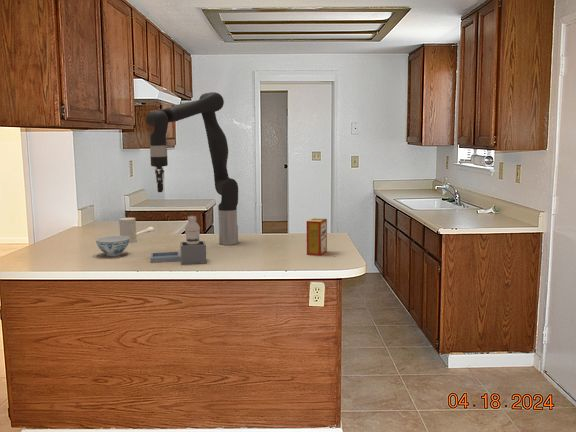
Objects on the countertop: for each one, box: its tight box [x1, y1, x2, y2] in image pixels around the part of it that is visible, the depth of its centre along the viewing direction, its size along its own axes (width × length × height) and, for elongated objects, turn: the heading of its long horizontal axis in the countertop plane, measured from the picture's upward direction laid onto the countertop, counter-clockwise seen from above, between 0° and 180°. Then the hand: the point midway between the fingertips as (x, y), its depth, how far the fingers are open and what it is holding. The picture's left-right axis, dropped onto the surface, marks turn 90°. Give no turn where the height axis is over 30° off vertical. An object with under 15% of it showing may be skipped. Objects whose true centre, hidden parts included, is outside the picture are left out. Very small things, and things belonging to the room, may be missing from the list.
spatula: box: [136, 226, 155, 237], centre depth 326 cm, size 28×4×3 cm, turn 165°
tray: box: [150, 251, 181, 264], centre depth 263 cm, size 13×12×2 cm
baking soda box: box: [306, 217, 328, 257], centre depth 270 cm, size 10×6×16 cm
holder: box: [179, 240, 207, 265], centre depth 257 cm, size 11×10×8 cm
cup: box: [118, 217, 138, 244], centre depth 306 cm, size 8×8×12 cm
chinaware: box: [95, 235, 130, 257], centre depth 273 cm, size 15×15×8 cm
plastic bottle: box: [184, 215, 201, 246], centre depth 256 cm, size 6×7×20 cm
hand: (160, 191), depth 269 cm, fingers open, 8 cm apart
